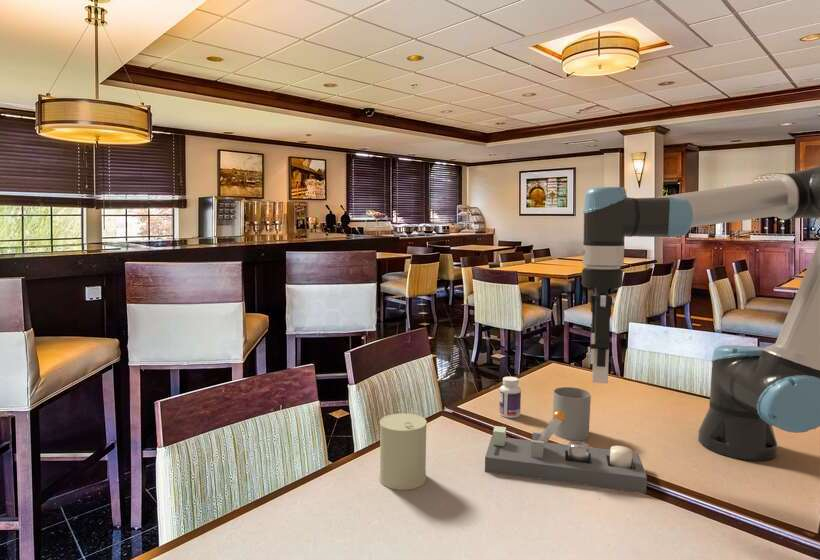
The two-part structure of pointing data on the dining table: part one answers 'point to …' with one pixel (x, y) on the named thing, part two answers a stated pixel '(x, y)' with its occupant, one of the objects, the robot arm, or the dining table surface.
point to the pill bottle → (510, 398)
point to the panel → (563, 464)
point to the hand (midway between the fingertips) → (598, 372)
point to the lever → (552, 426)
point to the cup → (572, 412)
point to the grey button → (578, 452)
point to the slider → (499, 436)
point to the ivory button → (620, 457)
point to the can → (402, 451)
